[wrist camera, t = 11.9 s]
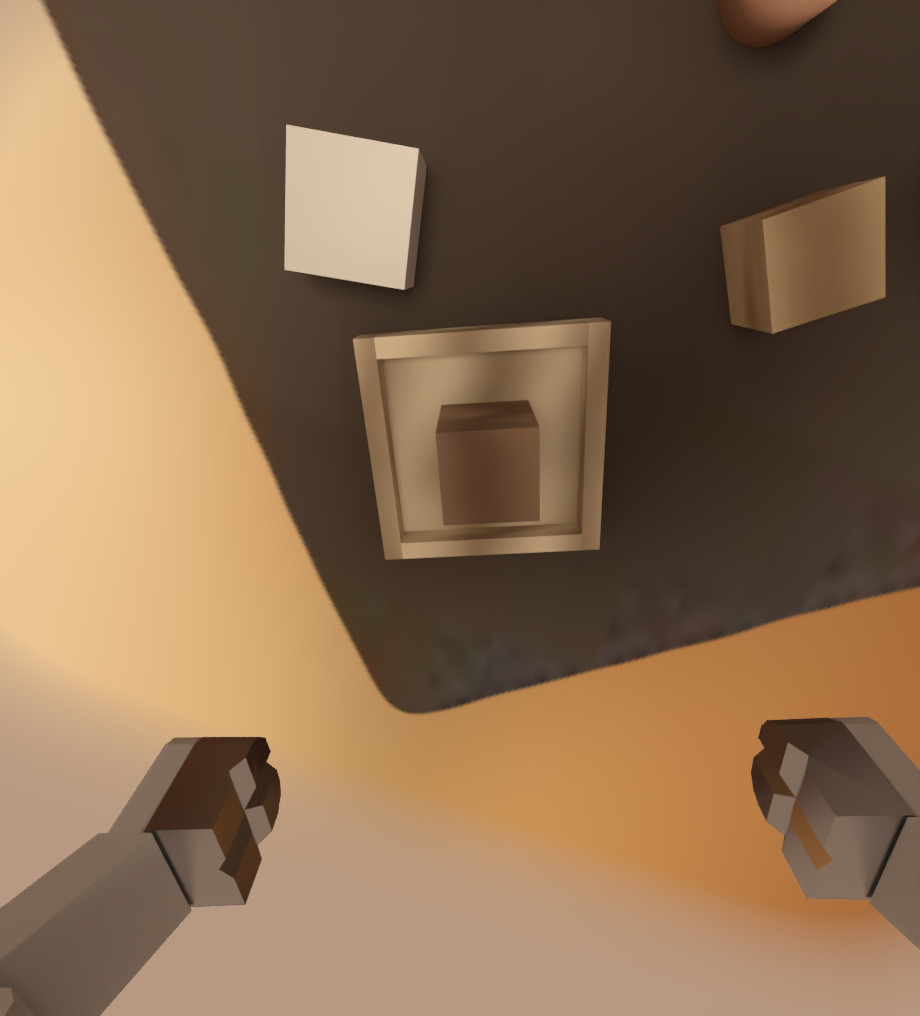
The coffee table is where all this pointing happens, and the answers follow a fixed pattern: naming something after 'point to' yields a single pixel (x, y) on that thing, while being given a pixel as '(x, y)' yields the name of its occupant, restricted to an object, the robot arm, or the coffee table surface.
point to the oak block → (806, 257)
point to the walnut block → (488, 462)
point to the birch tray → (478, 379)
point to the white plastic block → (352, 207)
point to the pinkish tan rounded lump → (767, 19)
